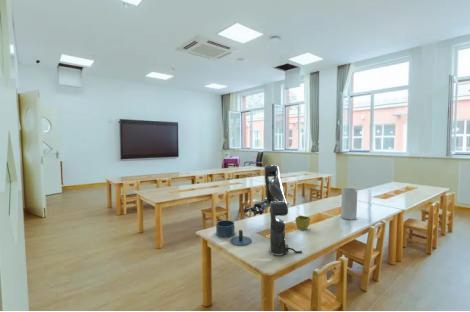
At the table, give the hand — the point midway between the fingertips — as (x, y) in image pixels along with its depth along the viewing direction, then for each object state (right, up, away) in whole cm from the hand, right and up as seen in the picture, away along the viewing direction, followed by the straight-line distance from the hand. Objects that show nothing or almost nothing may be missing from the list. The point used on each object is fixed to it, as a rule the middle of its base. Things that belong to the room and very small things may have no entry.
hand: (249, 212), depth 182 cm
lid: (-6, -18, -8) cm, 20 cm away
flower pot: (+43, -16, +15) cm, 48 cm away
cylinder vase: (+90, -13, +40) cm, 99 cm away
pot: (-17, -17, +5) cm, 25 cm away
